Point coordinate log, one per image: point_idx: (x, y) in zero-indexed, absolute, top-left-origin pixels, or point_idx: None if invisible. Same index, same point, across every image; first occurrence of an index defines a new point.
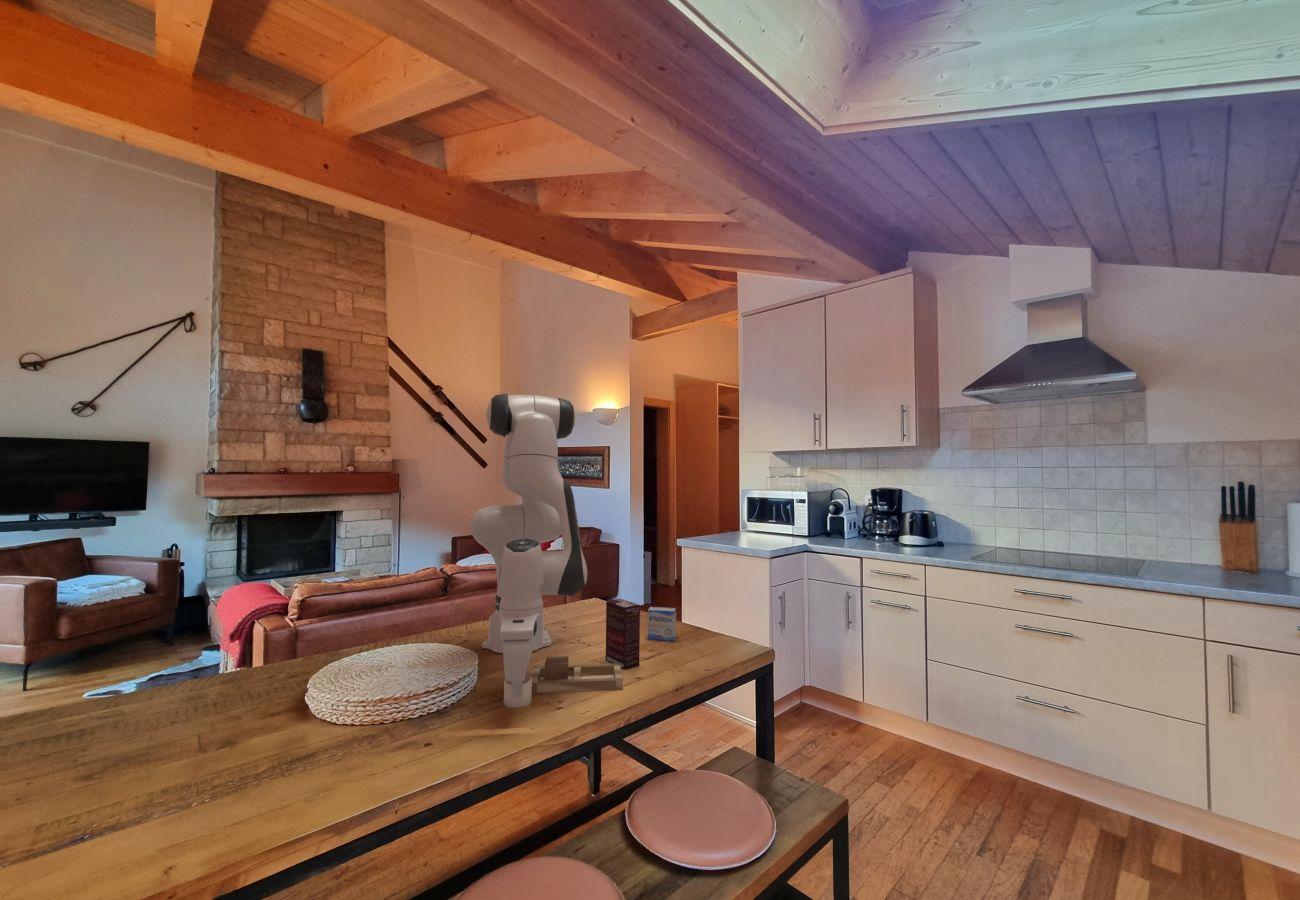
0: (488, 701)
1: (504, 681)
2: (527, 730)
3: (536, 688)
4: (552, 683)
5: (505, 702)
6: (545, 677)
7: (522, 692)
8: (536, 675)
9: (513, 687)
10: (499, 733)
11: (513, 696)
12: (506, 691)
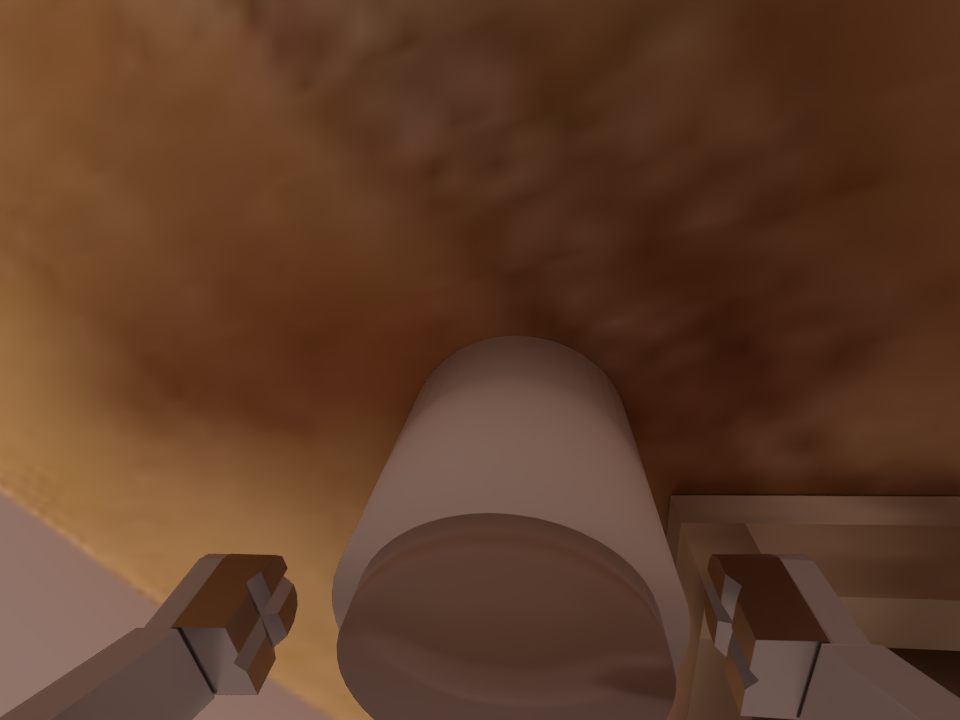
0: (655, 159)
1: (440, 498)
2: (204, 519)
3: (684, 594)
4: (685, 716)
5: (430, 392)
6: None
7: (277, 633)
8: (926, 632)
9: (102, 663)
10: (123, 381)
11: (201, 565)
12: (392, 464)
